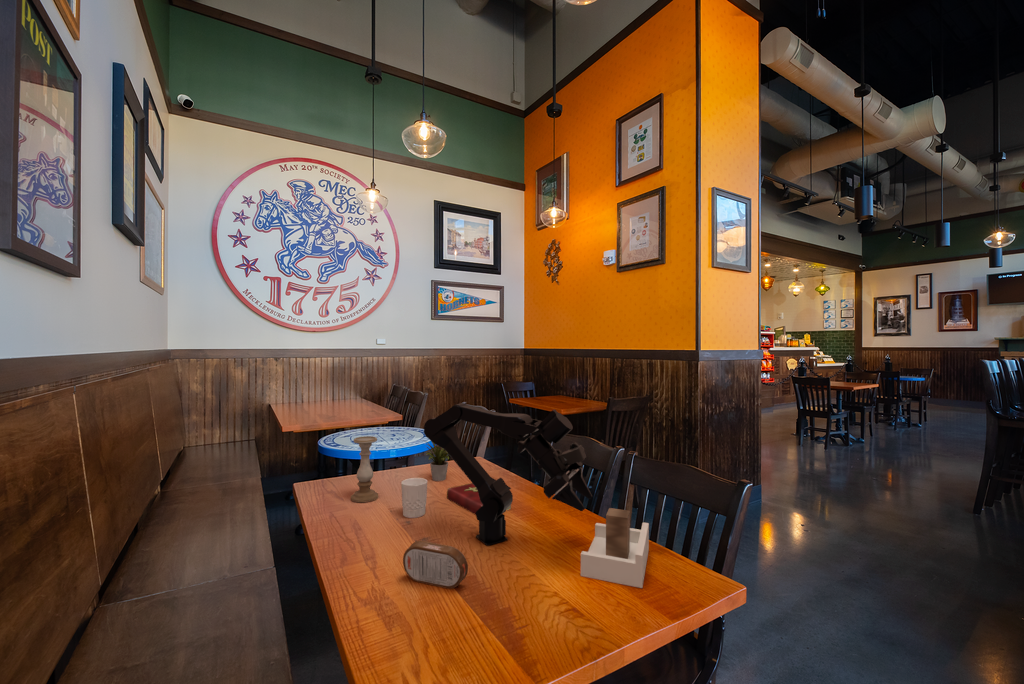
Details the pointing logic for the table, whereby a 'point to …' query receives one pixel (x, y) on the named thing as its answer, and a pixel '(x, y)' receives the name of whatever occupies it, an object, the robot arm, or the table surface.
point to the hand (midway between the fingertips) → (587, 503)
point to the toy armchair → (614, 567)
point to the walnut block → (618, 533)
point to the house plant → (438, 463)
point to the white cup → (414, 497)
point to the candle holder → (364, 472)
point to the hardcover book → (466, 497)
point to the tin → (435, 564)
